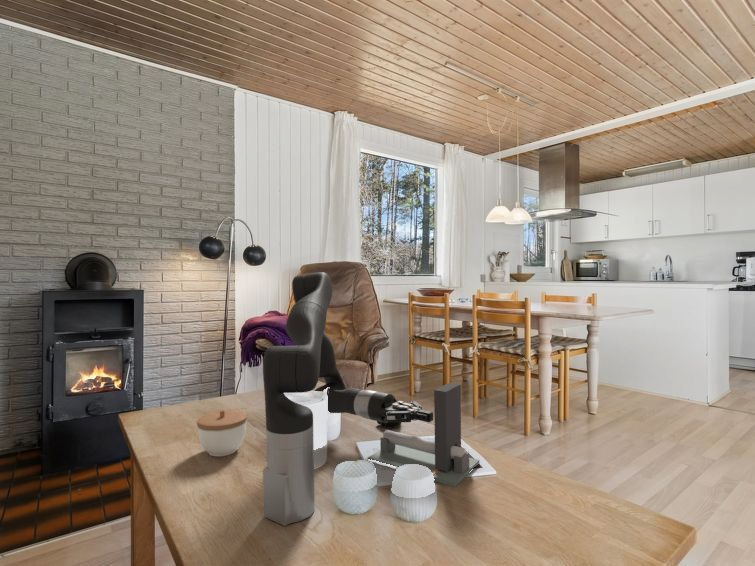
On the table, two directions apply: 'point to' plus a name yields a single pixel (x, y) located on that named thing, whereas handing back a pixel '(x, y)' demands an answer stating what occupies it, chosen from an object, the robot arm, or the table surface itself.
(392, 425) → the tape measure
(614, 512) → the table surface
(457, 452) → the pipe stand
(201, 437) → the lidded bowl
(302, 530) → the table surface
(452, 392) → the dark grey upright pillar
